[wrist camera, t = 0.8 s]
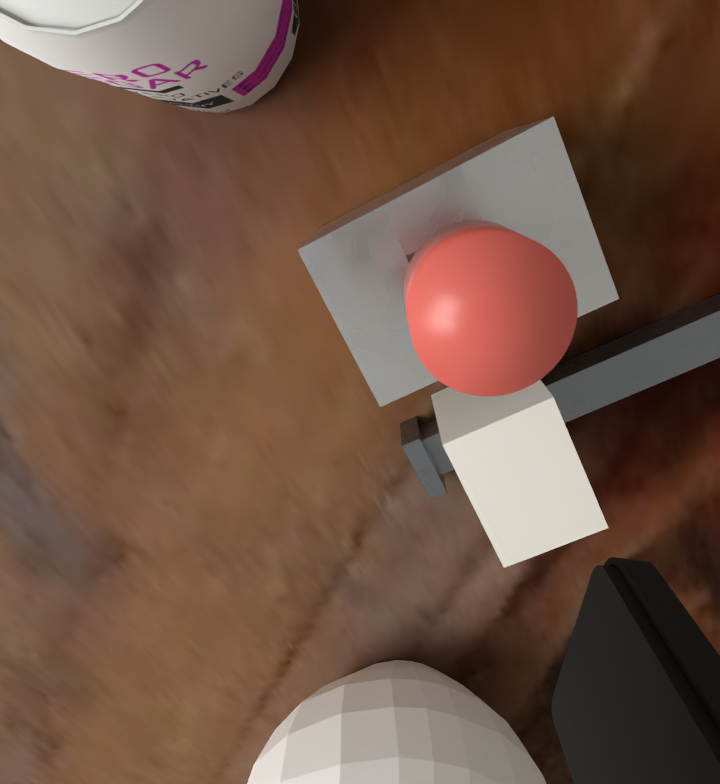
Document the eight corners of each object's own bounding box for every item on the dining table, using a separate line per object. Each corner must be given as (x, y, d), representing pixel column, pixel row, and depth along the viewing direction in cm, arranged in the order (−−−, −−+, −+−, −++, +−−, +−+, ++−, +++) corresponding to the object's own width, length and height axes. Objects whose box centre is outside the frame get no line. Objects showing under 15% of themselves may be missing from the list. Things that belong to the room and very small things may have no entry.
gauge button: (486, 190, 22) (541, 201, 15) (529, 295, 23) (601, 355, 16) (380, 244, 23) (381, 281, 15) (427, 343, 24) (449, 421, 17)
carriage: (513, 344, 32) (553, 397, 25) (559, 450, 34) (608, 528, 27) (428, 383, 33) (442, 444, 26) (477, 484, 35) (503, 567, 28)
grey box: (502, 131, 29) (553, 115, 20) (555, 268, 31) (621, 305, 22) (319, 227, 31) (297, 249, 22) (382, 350, 33) (383, 413, 24)
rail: (752, 266, 31) (790, 276, 28) (769, 328, 32) (807, 343, 29) (400, 423, 34) (402, 446, 31) (426, 473, 35) (430, 499, 33)
